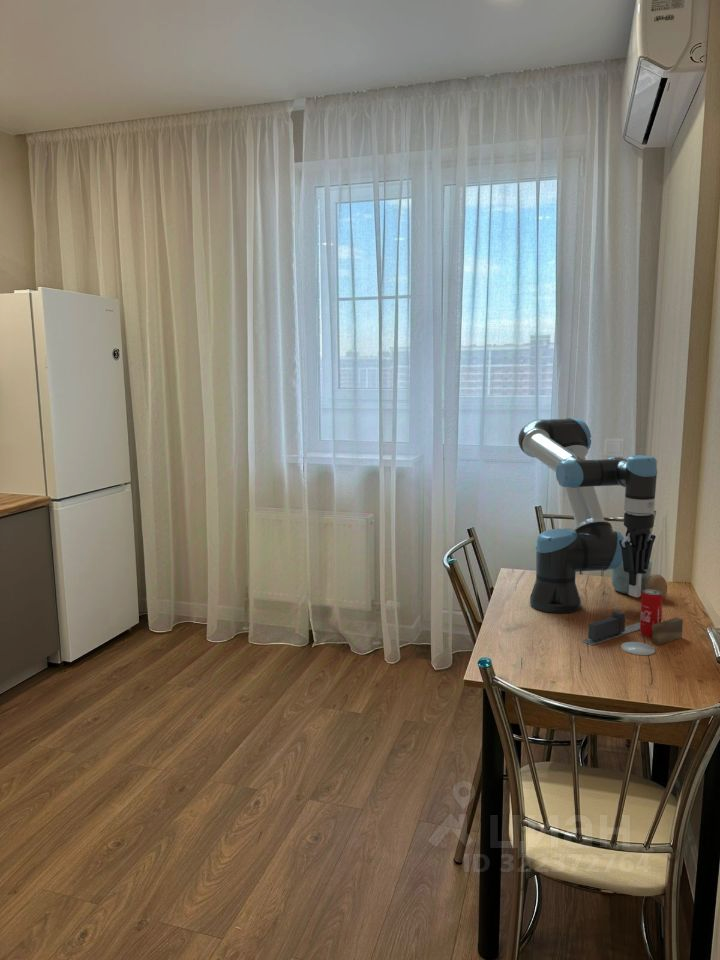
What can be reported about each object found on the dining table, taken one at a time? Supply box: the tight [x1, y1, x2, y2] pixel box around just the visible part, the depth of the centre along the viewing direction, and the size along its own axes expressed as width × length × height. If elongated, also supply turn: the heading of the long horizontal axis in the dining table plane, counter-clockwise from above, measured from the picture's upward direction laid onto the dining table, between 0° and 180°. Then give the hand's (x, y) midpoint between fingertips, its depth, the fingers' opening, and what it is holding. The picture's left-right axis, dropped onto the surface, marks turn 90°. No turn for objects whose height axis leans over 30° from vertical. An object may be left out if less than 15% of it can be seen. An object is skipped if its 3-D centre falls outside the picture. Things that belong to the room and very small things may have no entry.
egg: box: [645, 573, 668, 599], centre depth 209 cm, size 6×6×8 cm
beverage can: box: [639, 589, 663, 639], centre depth 179 cm, size 5×5×12 cm
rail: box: [581, 621, 640, 646], centre depth 181 cm, size 3×25×1 cm, turn 122°
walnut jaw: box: [651, 617, 684, 646], centre depth 175 cm, size 2×10×5 cm, turn 122°
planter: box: [610, 558, 653, 595], centre depth 218 cm, size 12×12×11 cm
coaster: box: [621, 641, 656, 656], centre depth 170 cm, size 8×8×1 cm
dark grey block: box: [587, 610, 626, 641], centre depth 178 cm, size 3×12×5 cm, turn 122°
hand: (634, 595), depth 185 cm, fingers closed
